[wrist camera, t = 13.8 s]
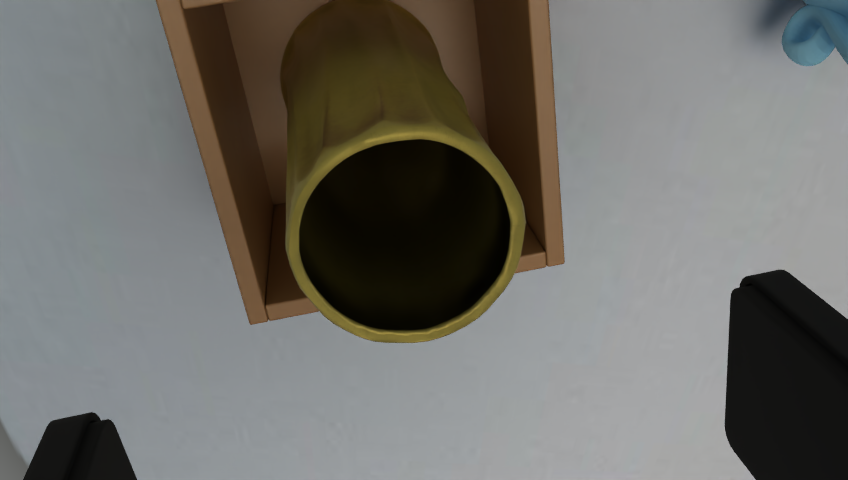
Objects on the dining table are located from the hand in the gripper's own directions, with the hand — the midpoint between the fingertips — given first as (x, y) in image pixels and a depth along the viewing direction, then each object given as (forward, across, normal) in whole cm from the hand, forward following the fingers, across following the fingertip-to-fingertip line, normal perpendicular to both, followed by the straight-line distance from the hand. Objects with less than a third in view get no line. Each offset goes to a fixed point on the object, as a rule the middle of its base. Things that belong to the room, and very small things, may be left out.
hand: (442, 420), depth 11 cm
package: (+20, -1, 0) cm, 20 cm away
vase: (+20, 0, 0) cm, 20 cm away
